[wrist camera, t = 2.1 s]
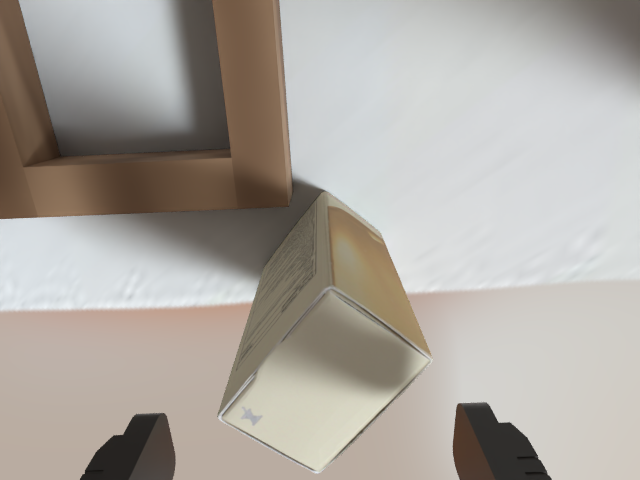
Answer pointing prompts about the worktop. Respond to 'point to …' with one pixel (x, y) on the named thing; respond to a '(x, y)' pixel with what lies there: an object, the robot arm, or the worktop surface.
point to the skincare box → (323, 340)
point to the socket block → (154, 167)
